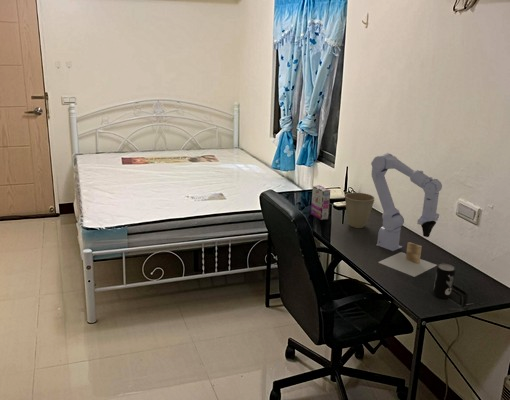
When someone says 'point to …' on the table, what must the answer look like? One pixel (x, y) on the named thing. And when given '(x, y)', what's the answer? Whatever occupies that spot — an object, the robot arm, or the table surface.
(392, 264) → the rubber mat
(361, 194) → the plant pot
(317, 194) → the candy bar box
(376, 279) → the table surface
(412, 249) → the wood tile
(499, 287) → the table surface
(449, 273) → the beverage can
